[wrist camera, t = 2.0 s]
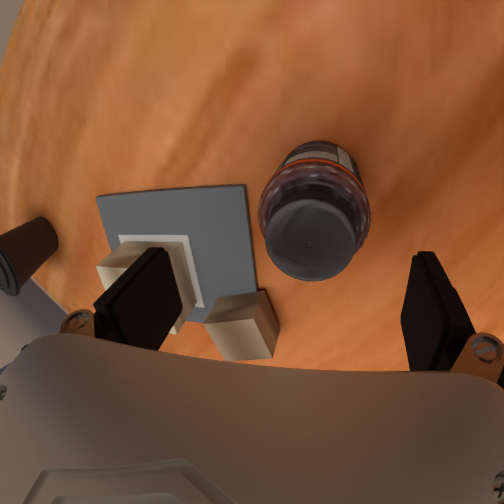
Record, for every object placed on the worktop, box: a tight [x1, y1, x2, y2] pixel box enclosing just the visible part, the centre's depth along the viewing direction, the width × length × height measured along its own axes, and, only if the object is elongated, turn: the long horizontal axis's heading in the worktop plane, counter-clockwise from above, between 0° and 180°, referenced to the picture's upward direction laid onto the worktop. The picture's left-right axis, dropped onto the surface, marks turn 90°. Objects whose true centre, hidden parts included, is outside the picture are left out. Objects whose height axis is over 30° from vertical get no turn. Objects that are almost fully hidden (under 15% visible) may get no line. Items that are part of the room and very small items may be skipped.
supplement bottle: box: [258, 141, 371, 281], centre depth 18 cm, size 6×6×11 cm
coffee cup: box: [0, 217, 58, 296], centre depth 30 cm, size 8×8×10 cm
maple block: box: [96, 241, 197, 334], centre depth 28 cm, size 7×7×5 cm
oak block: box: [203, 291, 280, 361], centre depth 28 cm, size 5×5×4 cm
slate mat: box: [96, 184, 258, 323], centre depth 30 cm, size 16×15×1 cm
